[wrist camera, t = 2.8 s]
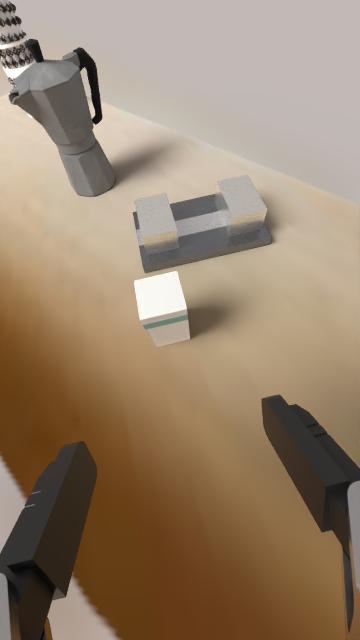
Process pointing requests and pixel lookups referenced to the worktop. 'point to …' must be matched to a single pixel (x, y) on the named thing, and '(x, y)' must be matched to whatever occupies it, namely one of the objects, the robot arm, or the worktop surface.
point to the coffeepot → (67, 115)
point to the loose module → (163, 308)
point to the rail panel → (200, 225)
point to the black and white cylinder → (13, 43)
